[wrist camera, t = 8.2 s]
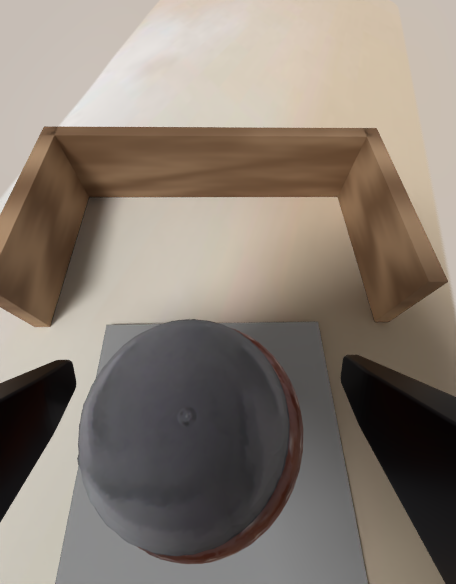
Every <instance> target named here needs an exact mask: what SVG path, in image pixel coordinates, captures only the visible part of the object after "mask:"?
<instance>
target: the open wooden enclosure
mask: <svg viewBox="0 0 456 584" xmlns="http://www.w3.org/2000/svg"><path fill="white" fill-rule="evenodd" d="M89 197H338V199H339V202H340V206H341V209H342V213H343V216H344V219H345V223H346V226H347V229H348V233H349V236H350V240H351V243H352V246H353V250H354V253H355V256H356V260H357V263H358V267H359V270H360V273H361V277H362V280H363V284H364V287H365V290H366V294H367V297H368V300H369V304H370V307H371V311H372V314H373V317H374V321H375V322H389V321H391V320H392V319H394V318H395V317H397V316H398V315H400V314H401V313H402V312H404V311H405V310H407V309H408V308H410V307H411V306H413V305H414V304H416V303H417V302H419V301H420V300H422V299H423V298H425V297H426V296H428V295H429V294H431V293H432V292H434V291H435V290H436V289H438V288H439V287H441V286H442V285H444V284H445V283H447V282H448V280H447V278H446V276H445V274H444V272H443V269H442V267H441V265H440V263H439V261H438V259H437V257H436V254H435V252H434V250H433V248H432V246H431V244H430V242H429V239H428V237H427V235H426V233H425V231H424V229H423V227H422V224H421V222H420V220H419V218H418V216H417V214H416V212H415V209H414V207H413V205H412V203H411V201H410V199H409V197H408V194H407V192H406V190H405V188H404V186H403V184H402V182H401V179H400V177H399V175H398V173H397V171H396V169H395V167H394V164H393V162H392V160H391V158H390V156H389V154H388V152H387V149H386V147H385V145H384V143H383V141H382V139H381V137H380V134H379V132H378V130H377V128H216V127H44V128H43V130H42V132H41V134H40V136H39V138H38V140H37V142H36V144H35V146H34V148H33V150H32V152H31V154H30V156H29V158H28V160H27V162H26V164H25V166H24V168H23V170H22V172H21V174H20V176H19V178H18V180H17V182H16V184H15V186H14V188H13V190H12V192H11V194H10V196H9V198H8V200H7V202H6V205H5V207H4V209H3V211H2V213H1V215H0V307H1V308H3V309H4V310H6V311H8V312H10V313H11V314H13V315H15V316H17V317H18V318H20V319H22V320H24V321H25V322H27V323H29V324H31V325H32V326H34V327H50V325H51V321H52V318H53V315H54V311H55V308H56V305H57V301H58V298H59V295H60V291H61V288H62V285H63V282H64V278H65V275H66V272H67V268H68V265H69V262H70V258H71V255H72V252H73V248H74V245H75V242H76V239H77V235H78V232H79V229H80V225H81V222H82V219H83V215H84V212H85V209H86V205H87V202H88V199H89Z"/></svg>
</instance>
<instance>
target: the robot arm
mask: <svg viewBox="0 0 456 584" xmlns="http://www.w3.org/2000/svg"><path fill="white" fill-rule="evenodd" d="M341 383H342V386H343V388H344V391H345V393H346V395H347V398H348V400H349V403H350V405H351V407H352V410H353V412H354V415H355V417H356V419H357V421H358V424H359V426H360V428H361V430H362V432H363V433H364V435H365V437H366V439H367V441H368V443H369V444H370V446H371V448H372V450H373V452H374V454H375V455H376V457H377V459H378V461H379V463H380V465H381V466H382V468H383V470H384V472H385V474H386V476H387V477H388V479H389V481H390V483H391V485H392V487H393V488H394V490H395V492H396V494H397V496H398V497H399V499H400V501H401V503H402V505H403V507H404V508H405V510H406V512H407V514H408V516H409V518H410V519H411V521H412V523H413V525H414V527H415V529H416V530H417V532H418V534H419V536H420V538H421V540H422V541H423V543H424V545H425V547H426V549H427V551H428V552H429V554H430V556H431V558H432V560H433V562H434V563H435V565H436V567H437V569H438V571H439V573H440V574H441V576H442V578H443V580H444V582H445V584H456V397H454V396H452V395H450V394H447V393H445V392H443V391H440V390H438V389H436V388H433V387H431V386H429V385H426V384H424V383H422V382H419V381H417V380H415V379H412V378H410V377H408V376H405V375H403V374H401V373H399V372H396V371H394V370H392V369H389V368H387V367H385V366H382V365H380V364H378V363H375V362H373V361H371V360H368V359H366V358H364V357H361V356H359V355H346V356H344V358H343V364H342V371H341ZM75 388H76V378H75V373H74V368H73V364H72V362H71V361H70V360H56V361H53V362H51V363H49V364H46V365H44V366H41V367H39V368H36V369H34V370H32V371H29V372H27V373H24V374H22V375H19V376H17V377H15V378H12V379H10V380H7V381H5V382H2V383H0V522H1V520H2V519H3V517H4V516H5V514H6V512H7V511H8V509H9V507H10V506H11V504H12V502H13V501H14V499H15V497H16V496H17V494H18V492H19V491H20V489H21V487H22V486H23V484H24V482H25V481H26V479H27V477H28V476H29V474H30V472H31V471H32V469H33V467H34V466H35V464H36V462H37V461H38V459H39V457H40V456H41V454H42V452H43V451H44V449H45V448H46V446H47V444H48V443H49V441H50V439H51V437H52V436H53V434H54V432H55V430H56V428H57V426H58V424H59V422H60V420H61V418H62V416H63V414H64V412H65V410H66V407H67V405H68V403H69V401H70V399H71V397H72V395H73V393H74V391H75Z"/></svg>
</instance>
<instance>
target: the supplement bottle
mask: <svg viewBox="0 0 456 584" xmlns="http://www.w3.org/2000/svg"><path fill="white" fill-rule="evenodd" d="M78 448H79V455H78V458H77V459H78V465H79V467H80V469H81V474H82V479H83V484H84V487H85V489H86V492H87V495H88V498H89V500H90V502H91V503H92V505H93V506H94V507H95V509H96V511H97V513H98V514H99V516H100V517H101V518H102V520H103V521H104V522H105V524H106V525H107V526H108V527H109V528H111V529H112V530H113V531H115V532H116V533H117V534H118V535H119V536H120V537H121V538H122V539H123V540H125V541H126V542H128V543H129V544H132V545H134V546H137V547H138V548H139V549H141V550H143V551H145V552H146V553H148V554H149V555H151V556H154V557H156V558H159V559H161V560H166V561H170V562H174V563H180V564H203V563H210V562H214V561H218V560H221V559H223V558H226V557H229V556H231V555H233V554H235V553H237V552H239V551H241V550H242V549H244V548H246V547H248V546H249V545H251V544H252V543H254V542H255V541H256V540H257V539H258V538H259V537H260V536H261V535H262V534H264V533H265V532H266V531H267V530H268V529H269V528H270V527H271V525H272V524H273V523H274V522H275V520H276V519H277V518H278V516H279V515H280V513H281V512H282V510H283V508H284V507H285V505H286V503H287V501H288V499H289V497H290V495H291V493H292V491H293V489H294V486H295V483H296V480H297V477H298V473H299V470H300V465H301V459H302V453H303V422H302V415H301V410H300V406H299V402H298V398H297V395H296V392H295V390H294V388H293V385H292V383H291V381H290V379H289V377H288V376H287V374H286V372H285V371H284V369H283V367H282V366H281V365H280V364H279V362H278V361H277V360H276V358H275V357H274V356H273V355H272V354H271V353H270V352H269V351H268V350H267V349H266V348H265V347H263V346H262V345H261V344H260V343H259V342H257V341H256V340H255V339H253V338H252V337H250V336H248V335H247V334H244V333H242V332H240V331H238V330H236V329H232V328H229V327H227V326H225V325H221V324H218V323H215V322H211V321H204V320H195V319H192V320H178V321H171V322H168V323H164V324H160V325H158V326H155V327H153V328H150V329H149V330H147V331H144V332H142V333H140V334H139V335H137V336H135V337H134V338H132V339H131V340H130V341H128V342H127V343H126V344H124V345H123V346H122V347H121V348H120V349H119V350H118V351H117V352H116V353H115V354H114V355H113V356H112V358H111V359H110V360H109V361H108V363H107V364H106V365H105V366H104V367H103V368H102V369H101V371H100V373H99V374H98V376H97V377H96V379H95V381H94V383H93V385H92V386H91V389H90V391H89V394H88V396H87V398H86V401H85V403H84V405H83V410H82V414H81V420H80V424H79V439H78Z"/></svg>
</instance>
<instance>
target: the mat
mask: <svg viewBox="0 0 456 584" xmlns="http://www.w3.org/2000/svg"><path fill="white" fill-rule="evenodd" d="M218 324H221V325H225V326H227V327H229V328H232V329H236V330H238V331H240V332H242V333H244V334H247V335H248V336H250V337H252V338H253V339H255V340H256V341H257V342H259V343H260V344H261V345H262V346H263V347H265V348H266V349H267V350H268V351H269V352H270V353H271V354H272V355H273V356H274V357H275V358H276V360H277V361H278V362H279V364H280V365H281V366H282V367H283V369H284V371H285V372H286V374H287V376H288V377H289V379H290V381H291V383H292V385H293V388H294V390H295V392H296V395H297V398H298V402H299V406H300V410H301V415H302V422H303V453H302V459H301V465H300V470H299V473H298V477H297V480H296V483H295V486H294V489H293V491H292V493H291V495H290V497H289V499H288V501H287V503H286V505H285V507H284V508H283V510H282V512H281V513H280V515H279V516H278V518H277V519H276V520H275V522H274V523H273V524H272V525H271V527H270V528H269V529H268V530H267V531H266V532H265V533H264V534H262V535H261V536H260V537H259V538H258V539H257V540H256V541H255V542H254V543H252V544H251V545H249V546H248V547H246V548H244V549H242V550H241V551H239V552H237V553H235V554H233V555H231V556H229V557H226V558H223V559H221V560H218V561H214V562H210V563H203V564H180V563H174V562H170V561H166V560H161V559H159V558H156V557H154V556H151V555H149V554H148V553H146V552H145V551H143V550H141V549H139V548H138V547H137V546H134V545H132V544H129V543H128V542H126V541H125V540H123V539H122V538H121V537H120V536H119V535H118V534H117V533H116V532H115V531H113V530H112V529H111V528H109V527H108V526H107V525H106V524H105V522H104V521H103V520H102V518H101V517H100V516H99V514H98V513H97V511H96V509H95V507H94V506H93V505H92V503H91V502H90V500H89V498H88V495H87V492H86V489H85V487H84V484H83V479H82V474H81V469H80V467H79V466H78V471H77V476H76V481H75V486H74V491H73V496H72V501H71V506H70V511H69V516H68V521H67V526H66V531H65V536H64V541H63V546H62V552H61V557H60V562H59V567H58V572H57V577H56V582H55V584H368V581H367V576H366V570H365V565H364V560H363V555H362V549H361V544H360V539H359V534H358V529H357V523H356V518H355V513H354V508H353V502H352V497H351V492H350V487H349V481H348V476H347V471H346V466H345V460H344V455H343V450H342V445H341V440H340V434H339V429H338V424H337V419H336V413H335V408H334V403H333V398H332V392H331V387H330V382H329V377H328V371H327V366H326V361H325V356H324V351H323V345H322V340H321V335H320V330H319V324H318V322H260V323H218ZM158 325H160V324H125V325H106V330H105V335H104V340H103V345H102V350H101V355H100V361H99V366H98V371H97V376H98V374H99V373H100V371H101V369H102V368H103V367H104V366H105V365H106V364H107V363H108V361H109V360H110V359H111V358H112V356H113V355H114V354H115V353H116V352H117V351H118V350H119V349H120V348H121V347H122V346H123V345H124V344H126V343H127V342H128V341H130V340H131V339H132V338H134V337H135V336H137V335H139V334H140V333H142V332H144V331H147V330H149V329H150V328H153V327H155V326H158ZM97 376H96V377H97Z"/></svg>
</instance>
